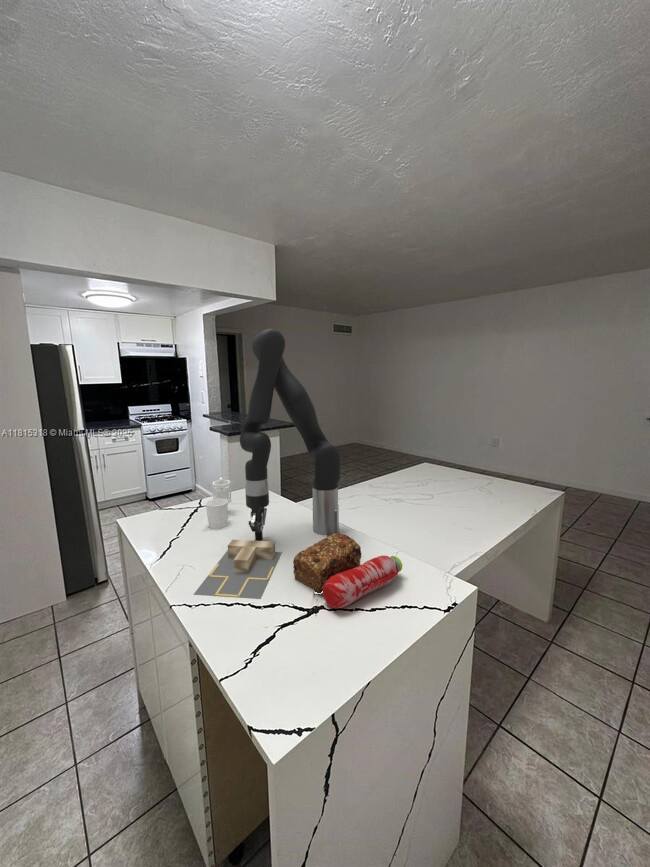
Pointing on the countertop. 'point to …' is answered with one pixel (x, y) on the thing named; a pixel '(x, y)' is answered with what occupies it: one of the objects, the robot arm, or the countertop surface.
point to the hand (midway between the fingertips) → (259, 540)
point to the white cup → (217, 513)
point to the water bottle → (360, 580)
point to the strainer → (222, 490)
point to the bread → (325, 560)
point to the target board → (238, 579)
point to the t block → (249, 553)
